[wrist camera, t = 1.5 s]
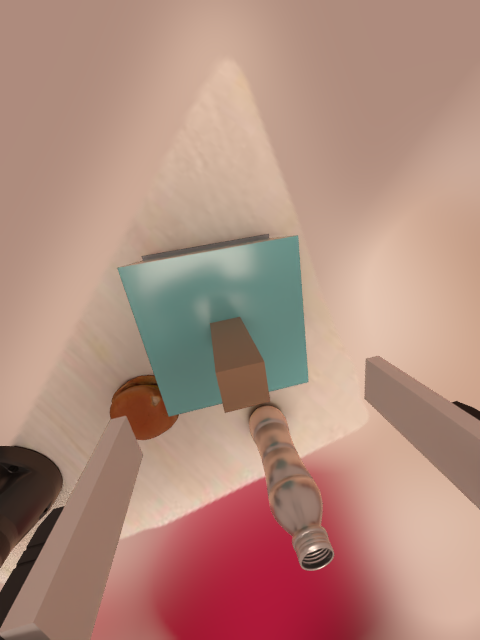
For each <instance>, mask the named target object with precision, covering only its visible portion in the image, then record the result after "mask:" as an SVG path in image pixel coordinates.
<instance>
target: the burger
mask: <svg viewBox="0 0 480 640" xmlns="http://www.w3.org/2000/svg"><path fill="white" fill-rule="evenodd" d="M123 416H126V417H127V419H128V421H129V424H130V426H131V428H132V431H133V433H134V435H135V438H136V439H138V440H147V439H152V438H154V437H157V436H159V435H160V434H162V433H164V432H165V431H167V430H168V429H169V428H171V427H172V425H173V424H174V423H175V422H176V420H177V418H178V416H179V414H178V415H174V416H170V417H169V416H168V413H167V410H166V407H165V404H164V401H163V398H162V396H161V393H160V390H159V387H158V384H157V381H156V378H155V376H152V375H147V376H140V377H136V378H134V379H132V380H130V381H128V382H127V383H126V384H124V385H123V386H122V387H121V388H120V389H118V390H117V392H115V394H114V395H113V398H112V405H111V407H110V417H111V419H114V418H118V417H123Z"/></svg>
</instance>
